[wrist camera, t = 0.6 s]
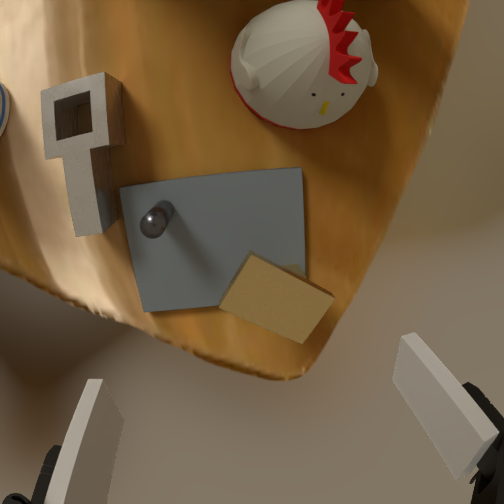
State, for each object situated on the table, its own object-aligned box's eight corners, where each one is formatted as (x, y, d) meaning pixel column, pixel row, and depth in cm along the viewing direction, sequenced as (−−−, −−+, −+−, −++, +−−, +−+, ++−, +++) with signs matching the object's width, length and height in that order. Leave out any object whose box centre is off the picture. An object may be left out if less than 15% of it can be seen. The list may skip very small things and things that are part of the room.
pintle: (152, 201, 31) (137, 215, 25) (172, 198, 31) (162, 211, 25) (155, 222, 32) (142, 240, 26) (175, 219, 32) (166, 237, 26)
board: (122, 186, 31) (118, 188, 30) (298, 167, 33) (301, 168, 32) (145, 307, 36) (143, 312, 35) (302, 290, 38) (305, 294, 37)
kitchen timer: (238, 135, 31) (255, 128, 17) (223, 17, 27) (229, -58, 13) (361, 126, 32) (446, 124, 18) (345, 16, 27) (412, -37, 13)
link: (64, 96, 27) (41, 91, 22) (121, 81, 28) (104, 71, 23) (80, 225, 32) (59, 239, 27) (135, 216, 33) (121, 230, 28)
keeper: (241, 224, 33) (251, 254, 24) (311, 262, 35) (341, 301, 27) (217, 265, 34) (218, 307, 25) (287, 299, 37) (308, 346, 28)
